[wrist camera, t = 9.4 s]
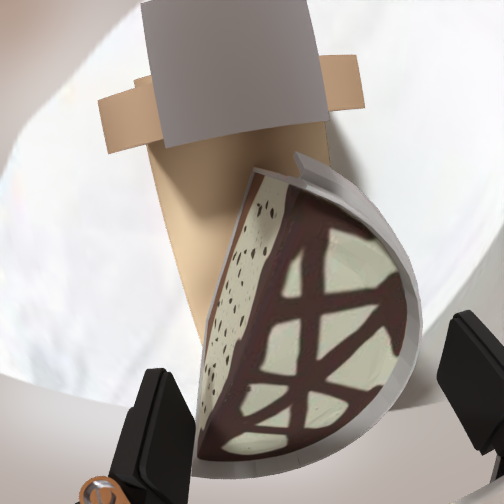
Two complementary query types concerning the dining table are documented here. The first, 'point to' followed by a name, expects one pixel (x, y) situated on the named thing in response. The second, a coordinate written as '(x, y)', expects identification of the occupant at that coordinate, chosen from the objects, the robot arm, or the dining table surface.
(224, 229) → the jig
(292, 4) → the block
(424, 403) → the dining table surface
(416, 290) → the food container
